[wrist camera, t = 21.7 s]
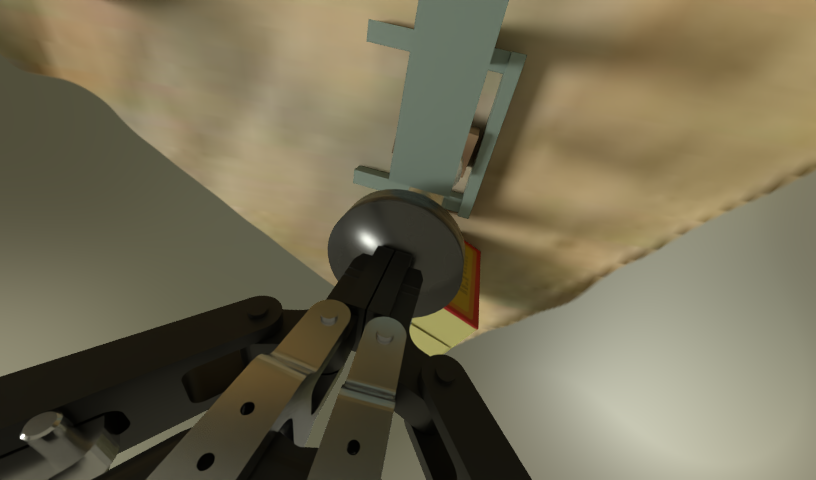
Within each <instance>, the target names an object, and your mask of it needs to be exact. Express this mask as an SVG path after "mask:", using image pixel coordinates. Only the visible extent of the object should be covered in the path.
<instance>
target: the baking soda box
mask: <svg viewBox="0 0 816 480" xmlns="http://www.w3.org/2000/svg"><path fill="white" fill-rule="evenodd" d="M464 244H465V259H464V268H463V277H462V283H461V286H460V289H459V291H458V293H457V295H456V296H455V297H454V299H453V300H452V301H451V302H450V303H449V304H448V305H447V306H445V307H444V308H443V309H441V310H439V311H437V312H436V313H433V314H430V315H427V316H423V317H418V318H413V319H412V322H411V326H410V336H411V339H412V341H413V342H414V344H415V345H416V346H417V347H418V348H419V349H421V350H422V351H423V352H425V353H426V354H428V355H429V356H432V355H436V354H442V355H443V354H444V353H446V352H447V351H448V350H450V349H451V348H452V347H454V346H455V345H457V344H458V343H459V342H461V341H462V340H463V339H465V338H466V337H468V336H469V335H470V334H472V333H473V332H474V331H476V330H477V329H478V323H479V288H480V254H481V252H480V251H479V250H478V249H476V248H475V247H473V246H472V245H471V244H469V243H468V242H466V241H465V240H464Z"/></svg>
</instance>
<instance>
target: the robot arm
mask: <svg viewBox="0 0 816 480" xmlns="http://www.w3.org/2000/svg"><path fill="white" fill-rule="evenodd" d="M411 260H412V255H410V254H406V253H403V252H400V251H396V252H395V250H393V249H389V248H386V247H383V246H378V247H377V248H376V250H375V252H374V254H373V255H368V254H365V253H363V254H361V255H359V256H357V257H356V258H354V259H353V261H352V262H351V264H350V265H349V267H348V268H347V270H346V271H345V273H344V275H342V277H341V278H340V280H339V281H338V283H337V284H336V286H335V287H334V289H333V290H332V292H331V293H330V295H329V296H328V298H327V299H326V300H323V301H320V302H317V303H316V304H314V305H313V306H312V307H311V308H310V309H308V310H283V309H282V305H281V303H280V302H279V301H278V300H277V299H275V298H273V297H269V296H256V297H252V298H249V299H245V300H242V301H239V302H236V303H233V304H230V305H226V306H223V307H220V308H217V309H214V310H210V311H207V312H204V313H201V314H198V315H195V316H191V317H188V318H185V319H182V320H179V321H176V322H172V323H169V324H166V325H163V326H160V327H157V328H153V329H150V330H147V331H144V332H141V333H138V334H134V335H131V336H128V337H125V338H122V339H118V340H115V341H112V342H109V343H106V344H103V345H99V346H96V347H93V348H90V349H87V350H84V351H80V352H77V353H74V354H71V355H68V356H65V357H61V358H58V359H55V360H52V361H49V362H46V363H43V364H39V365H36V366H33V367H30V368H27V369H23V370H20V371H17V372H14V373H11V374H8V375H5V376H1V377H0V480H381V475H382V470H383V465H384V460H385V455H386V449H387V444H388V439H389V434H390V428H391V423H392V418H393V413H394V411H395V412H396V413H397V414H398V415H400V416H401V417H402V418H403V419H404V422H405V426H406V429H407V432H408V434H409V437H410V439H411V442H412V444H413V447H414V449H415V452H416V455H417V457H418V459H419V462H420V465H421V467H422V470H423V472H424V475H425V477H426V480H532V479H531V477H530V476H529V474H528V473H527V471H526V470H525V468H524V466H523V465H522V463H521V462H520V460H519V458H518V456H517V455H516V453H515V451H514V450H513V448H512V447H511V445H510V443H509V442H508V440H507V439H506V437H505V435H504V434H503V432H502V430H501V429H500V427H499V425H498V424H497V422H496V421H495V419H494V417H493V416H492V414H491V413H490V411H489V409H488V408H487V406H486V404H485V403H484V401H483V400H482V398H481V396H480V395H479V393H478V392H477V390H476V388H475V386H474V385H473V383H472V382H471V380H470V378H469V377H468V375H467V373H466V372H465V370H464V369H463V367H462V366H461V365H460V364H459V363H458V362H457V361H456V360H455V359H453V358H452V357H449V356H447V355H442V354H436V355H432V356H429V355H428V354H426V353H425V352H423V351H422V350H421V349H419V348H418V347H417V346H416V345H415V344H414V342H413V341H412V339H411V336H410V324H411V321H412V317H413V314H414V310H415V307H416V303H417V300H418V297H419V293H420V290H421V286H422V283H423V276H422V273H421V270H418V269H415V268H411V267H410V264H411ZM351 350H352V351H355V352H356V354H355V357H354V360H353V362H352V365H351V368H350V371H349V374H348V376H347V379H346V381H345V384H343V385H342V387H341V389H340V391H339V394H338V396H337V399H336V402H335V404H334V407H333V410H332V413H331V415H330V418H329V421H328V423H327V426H326V429H325V432H324V434H323V437H322V440H321V442H320V445H319V448H310V447H308V448H307V447H304V446H305V444H306V442H307V440H308V438H309V435H310V432H311V429H312V426H313V424H314V421H315V419H316V417H317V415H318V414H319V412H320V410H321V409H322V407H323V405H324V403H325V401H326V399H327V398H328V396H329V394H330V392H331V391H332V389H333V387H334V385H335V384H336V382H337V380H338V378H339V377H340V375H341V373H342V371H343V369H344V366H345V363H346V360H347V358H348V356H349V354H350V352H351ZM206 410H208V411H207V412H206V413H205V414H204V415H203V416H202V417H201V419H200V420H199V421H198V422H197V423H196V424H195V425H194V426H193V427H192V428H189V429H187V430H184V431H182V432H180V433H178V434H176V435H174V436H172V437H170V438H168V439H166V440H165V441H163V442H161V443H159V444H157V445H155V446H153V447H151V448H150V449H148V450H146V451H144V452H142V453H140V454H138V455H136V456H135V457H133V458H131V459H129V460H127V461H125V462H123V463H122V464H120V465H118V466H116V467H114V468H112V469H110V470H109V468H110V465H111V463H112V462H113V460H114V459H115V457H116V455H117V454H118V453H120V452H123V451H125V450H127V449H129V448H131V447H133V446H135V445H137V444H139V443H141V442H143V441H145V440H147V439H149V438H151V437H153V436H155V435H157V434H159V433H161V432H163V431H165V430H167V429H170V428H172V427H174V426H176V425H178V424H180V423H182V422H184V421H186V420H188V419H190V418H192V417H194V416H196V415H198V414H200V413H202V412H204V411H206Z"/></svg>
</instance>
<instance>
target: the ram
mask: <svg viewBox="0 0 816 480" xmlns="http://www.w3.org/2000/svg"><path fill="white" fill-rule="evenodd" d="M462 169H463V156H462V157H461V160H460V164H459V167H458V170H457V174H456V177H455V180H454V184H453V187H454V186H455V185H456V184H457V182H458V181H459V179H460V177H461V173H462ZM443 199H444V196H441V195H438V194H434V193H431V192H427V191H423V190H420V189H416V188H413V187H409V189H408V190H402V189H386V190H380V191H376V192H373V193H370V194H368V195H366V196H364V197H363V198H361V199H360V200H359V201H357V202H356V203H355V204H354V205H353V206H352V207H351V208H350V209H349V210H348V211H347V212H346V214H345V215H344V216H343V217H342V218H341V219H340V220H339V221H338V222H337V224H336V225H335V226H334V228H333V230H332V232H331V234H330V238H329V242H328V258H329V263H330V266H331V269H332V271H333V273H334V276H335V277H336V279H337V280H338V281H339V280H340V278H341V277H342V275H344V273H345V271H346V270H347V268H348V267H349V265H350V264H351V262H352V261H353V259H354V258H356V257H357V256H359V255H361V254H363V253H365V254H368V255H373V254H374V252H375V250H376V248H377V247H378V246H383V247H386V248H389V249H393V250H395V252H396V251H400V252H403V253H406V254H410V255H412V260H411V264H410V267H411V268H415V269H418V270H421V273H422V276H423V283H422V286H421V290H420V293H419V297H418V300H417V303H416V307H415V310H414V314H413V317H412V318H418V317H423V316H427V315H430V314H433V313H436V312H437V311H439V310H441V309H443V308H444V307H445V306H447V305H448V304H449V303H450V302H451V301H452V300H453V299H454V297H455V296H456V295H457V293H458V291H459V289H460V286H461V283H462V277H463V268H464V259H465V244H464V239H463V236H462V233H461V230H460V228H459V227H458V225H457V223H456V221H455V220H454V219H453V217H452V216H451V215H450V214H449V213H448V212H447V211H446V210H445V209H444V208H443V207H442V206H441V205H442V202H443Z"/></svg>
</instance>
